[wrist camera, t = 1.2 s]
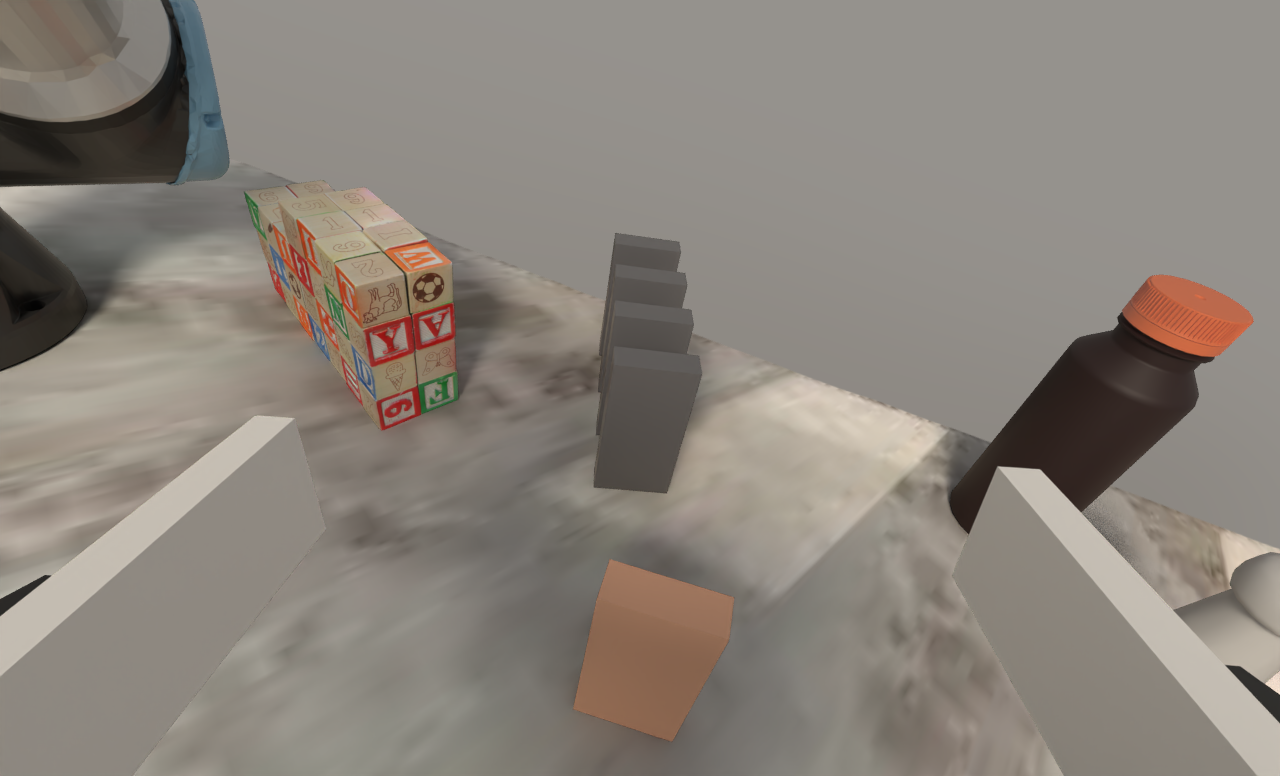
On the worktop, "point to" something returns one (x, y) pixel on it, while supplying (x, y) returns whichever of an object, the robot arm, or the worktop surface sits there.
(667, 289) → the domino
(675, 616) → the orange domino
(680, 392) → the domino
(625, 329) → the domino
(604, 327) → the domino
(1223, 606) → the salt shaker
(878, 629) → the worktop surface
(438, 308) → the stack of blocks
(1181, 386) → the vinegar
